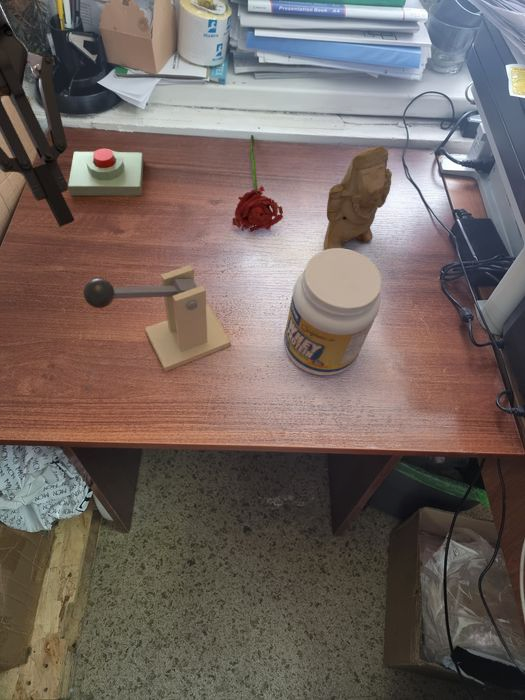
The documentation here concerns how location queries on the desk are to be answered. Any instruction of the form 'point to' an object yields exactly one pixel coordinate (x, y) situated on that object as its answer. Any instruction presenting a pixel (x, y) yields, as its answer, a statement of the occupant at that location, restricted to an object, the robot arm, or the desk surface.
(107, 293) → the switch lever
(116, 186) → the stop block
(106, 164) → the stop button
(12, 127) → the robot arm
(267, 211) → the flower
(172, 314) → the switch bracket
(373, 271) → the supplement tub
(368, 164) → the figurine
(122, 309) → the desk surface
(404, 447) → the desk surface
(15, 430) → the desk surface
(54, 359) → the desk surface
